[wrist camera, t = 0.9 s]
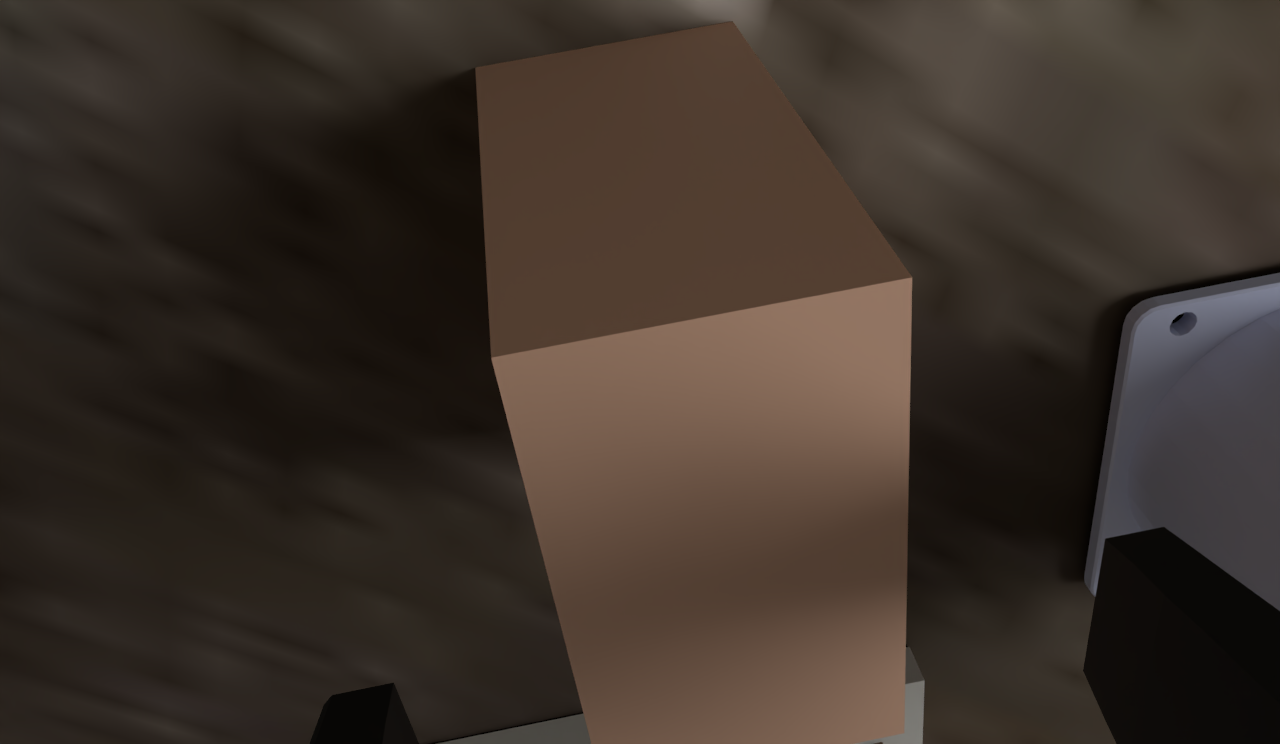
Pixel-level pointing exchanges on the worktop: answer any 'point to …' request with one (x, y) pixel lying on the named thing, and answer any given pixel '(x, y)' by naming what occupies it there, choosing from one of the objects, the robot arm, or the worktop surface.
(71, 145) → the worktop surface
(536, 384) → the key block
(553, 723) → the cradle
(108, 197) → the worktop surface
